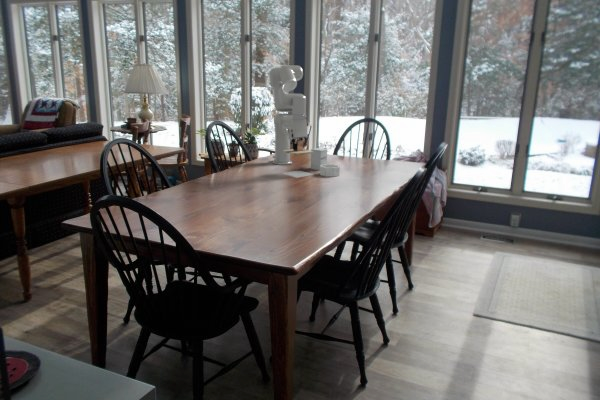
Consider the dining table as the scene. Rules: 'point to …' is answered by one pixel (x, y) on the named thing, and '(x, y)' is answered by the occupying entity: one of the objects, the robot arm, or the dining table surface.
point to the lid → (298, 149)
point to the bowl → (329, 170)
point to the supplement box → (318, 158)
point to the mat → (298, 174)
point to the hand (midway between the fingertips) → (298, 149)
